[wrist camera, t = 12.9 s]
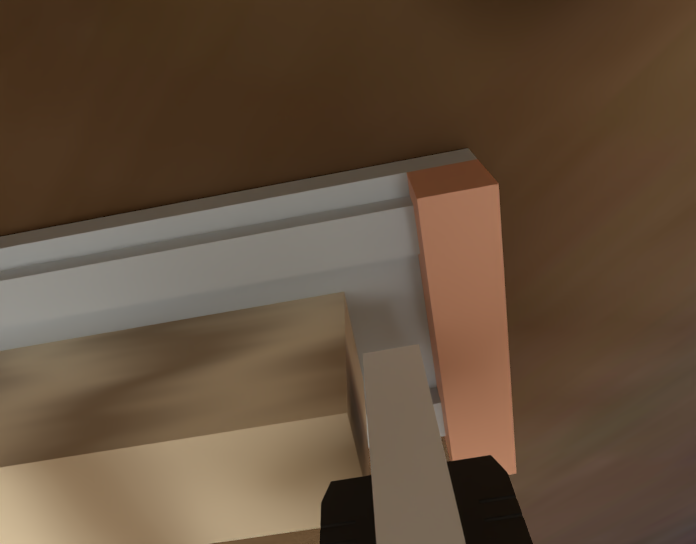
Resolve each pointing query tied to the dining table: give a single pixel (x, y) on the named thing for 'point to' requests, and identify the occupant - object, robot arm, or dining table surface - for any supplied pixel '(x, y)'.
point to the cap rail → (301, 275)
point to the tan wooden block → (182, 428)
